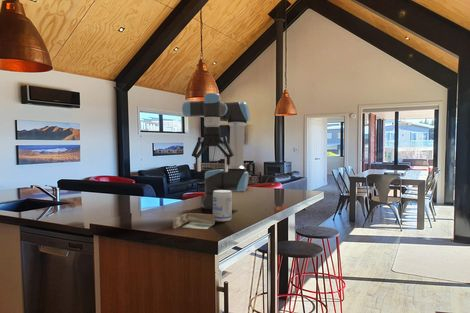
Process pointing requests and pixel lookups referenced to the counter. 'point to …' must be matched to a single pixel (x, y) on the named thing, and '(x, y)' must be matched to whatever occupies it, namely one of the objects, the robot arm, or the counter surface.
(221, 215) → the supplement tub
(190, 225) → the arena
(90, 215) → the counter surface
